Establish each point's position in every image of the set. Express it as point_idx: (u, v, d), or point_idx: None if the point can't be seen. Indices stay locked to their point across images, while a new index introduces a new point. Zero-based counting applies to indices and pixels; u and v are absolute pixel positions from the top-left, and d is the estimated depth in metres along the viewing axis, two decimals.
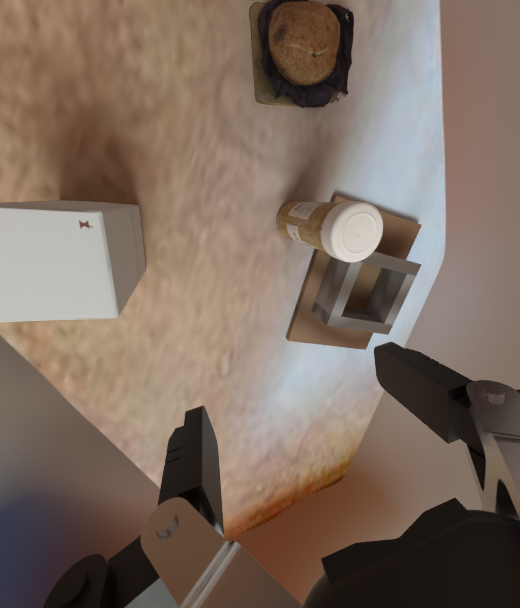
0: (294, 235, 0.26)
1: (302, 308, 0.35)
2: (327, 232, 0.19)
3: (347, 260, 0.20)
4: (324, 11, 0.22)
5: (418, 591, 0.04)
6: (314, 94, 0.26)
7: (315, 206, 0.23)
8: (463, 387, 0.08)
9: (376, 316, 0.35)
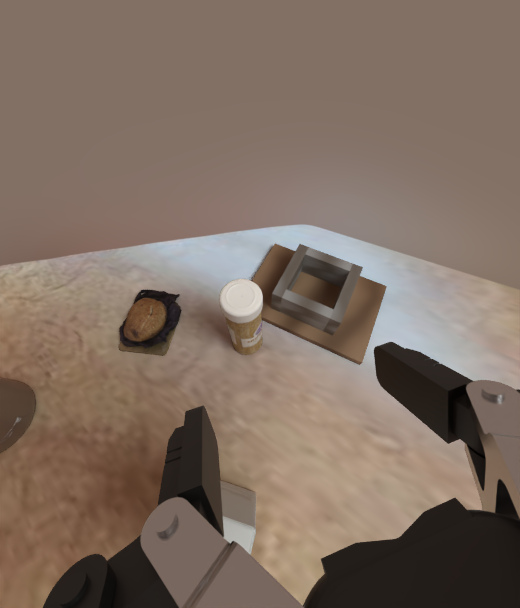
0: (250, 342, 0.32)
1: (327, 343, 0.36)
2: (235, 318, 0.26)
3: (258, 305, 0.26)
4: (134, 306, 0.38)
5: (418, 591, 0.04)
6: (172, 316, 0.39)
7: None
8: (463, 387, 0.08)
9: (344, 277, 0.38)
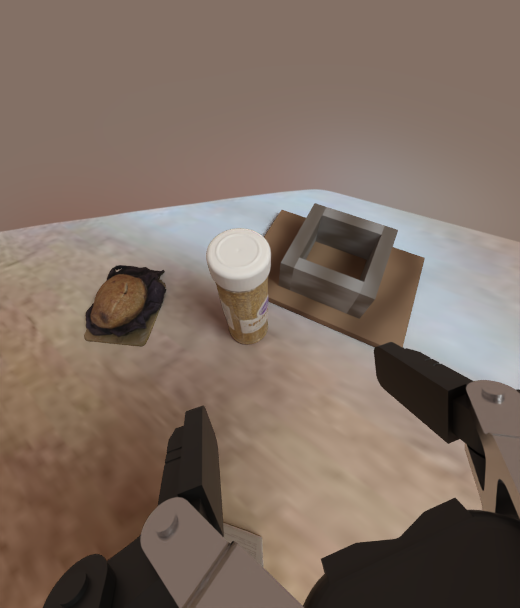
0: (252, 325, 0.24)
1: (353, 329, 0.28)
2: (229, 283, 0.17)
3: (265, 262, 0.17)
4: (104, 283, 0.29)
5: (418, 591, 0.04)
6: (153, 296, 0.30)
7: None
8: (463, 388, 0.08)
9: (373, 244, 0.30)
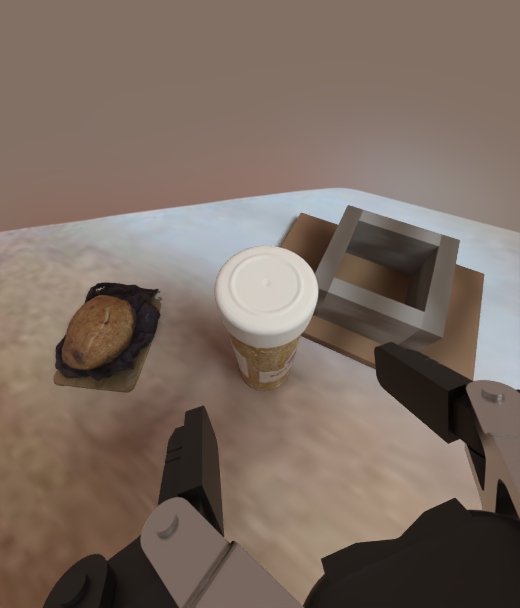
0: (275, 375, 0.17)
1: None
2: (253, 338, 0.10)
3: (311, 305, 0.10)
4: (80, 309, 0.23)
5: (418, 591, 0.04)
6: (144, 324, 0.23)
7: (231, 343, 0.15)
8: (463, 387, 0.08)
9: (424, 258, 0.23)
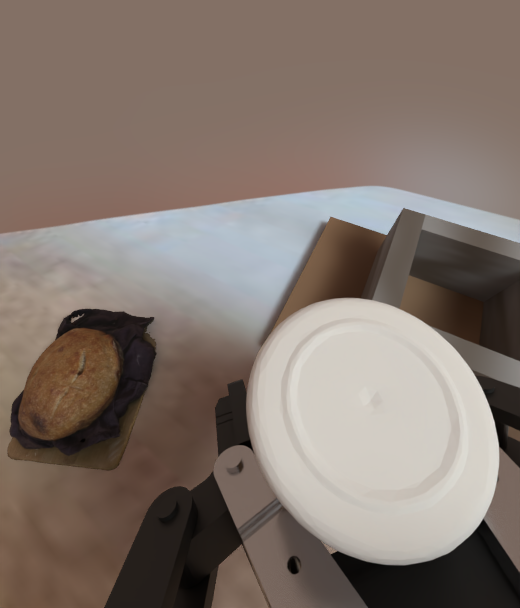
0: None
1: None
2: None
3: (496, 468, 0.04)
4: (45, 351, 0.16)
5: (418, 591, 0.04)
6: (134, 369, 0.17)
7: None
8: None
9: (511, 281, 0.17)
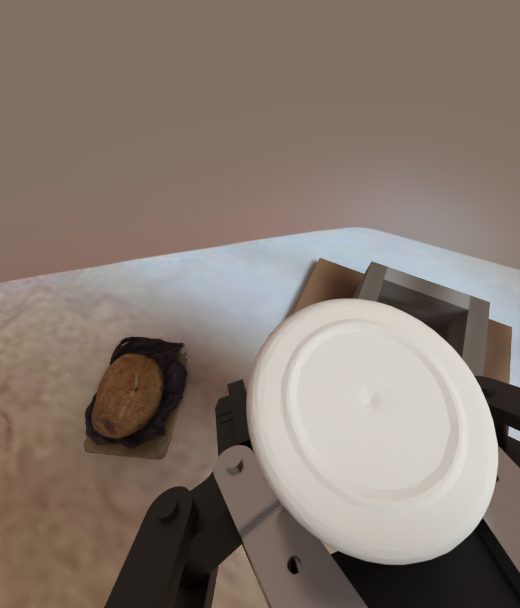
0: None
1: None
2: None
3: (495, 468, 0.04)
4: (108, 373, 0.22)
5: (418, 591, 0.04)
6: (172, 385, 0.23)
7: None
8: None
9: (452, 317, 0.23)
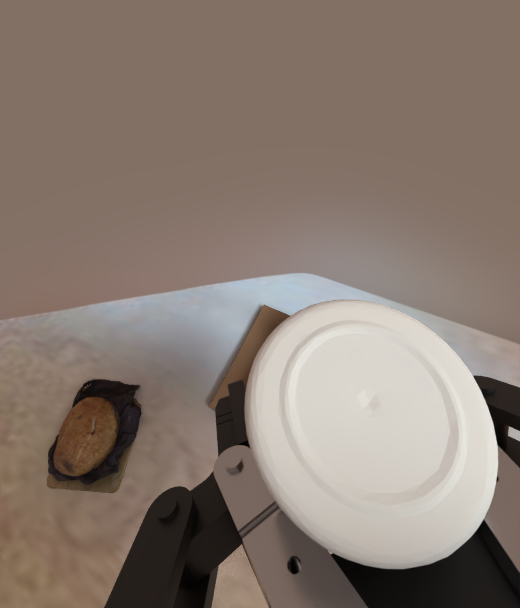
0: None
1: None
2: None
3: (495, 471, 0.04)
4: (69, 418, 0.26)
5: (418, 591, 0.04)
6: (127, 426, 0.27)
7: None
8: None
9: None
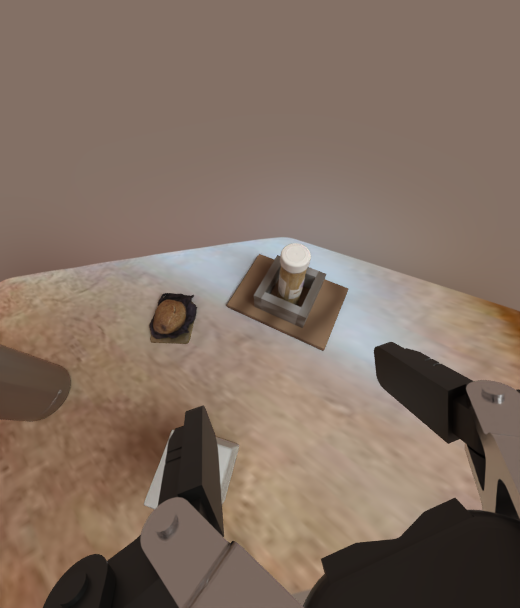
0: (295, 293, 0.44)
1: (298, 334, 0.46)
2: (292, 268, 0.38)
3: (308, 259, 0.37)
4: (160, 306, 0.48)
5: (418, 591, 0.04)
6: (190, 312, 0.48)
7: (280, 278, 0.42)
8: (463, 388, 0.08)
9: (312, 281, 0.48)
